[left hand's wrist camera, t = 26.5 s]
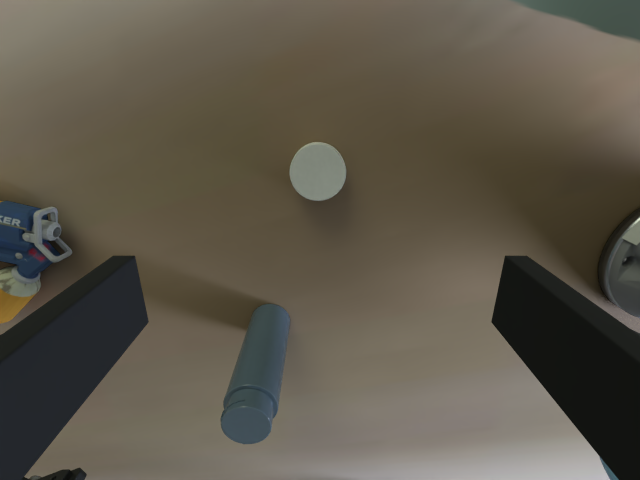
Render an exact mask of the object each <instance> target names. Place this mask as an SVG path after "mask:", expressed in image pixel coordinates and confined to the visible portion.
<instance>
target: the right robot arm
mask: <svg viewBox="0 0 640 480" xmlns="http://www.w3.org/2000/svg"><path fill="white" fill-rule="evenodd" d="M86 475H87V474H86V473H85V472H84V471H83V470H82V469H81V468H77V469H75V470H72V471H70V470H60V471H58V472H55V473H53V474H50V475H47V476H45V477H40V476H31V477H30V479H27V478H25V477H23V478H22V480H84V479H85V478H86Z"/></svg>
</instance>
